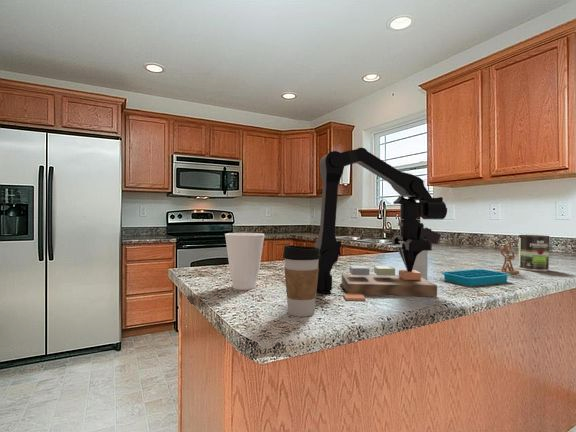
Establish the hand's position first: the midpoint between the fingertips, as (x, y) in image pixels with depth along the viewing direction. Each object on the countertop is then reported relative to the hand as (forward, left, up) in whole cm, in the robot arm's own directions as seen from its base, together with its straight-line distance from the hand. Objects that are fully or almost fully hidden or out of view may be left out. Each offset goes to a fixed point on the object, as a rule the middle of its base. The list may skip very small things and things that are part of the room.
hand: (409, 271), depth 100 cm
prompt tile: (-18, -12, -5) cm, 23 cm away
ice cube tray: (+26, +14, -6) cm, 30 cm away
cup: (-49, -1, -5) cm, 50 cm away
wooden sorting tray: (-7, -1, -5) cm, 9 cm away
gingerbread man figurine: (+47, +30, -5) cm, 55 cm away
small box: (+9, +19, -5) cm, 21 cm away
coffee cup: (-32, -26, -5) cm, 42 cm away
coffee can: (+64, +41, -5) cm, 76 cm away
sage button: (-7, 0, -1) cm, 7 cm away
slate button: (-15, 0, -1) cm, 15 cm away
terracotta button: (0, 0, -2) cm, 2 cm away
